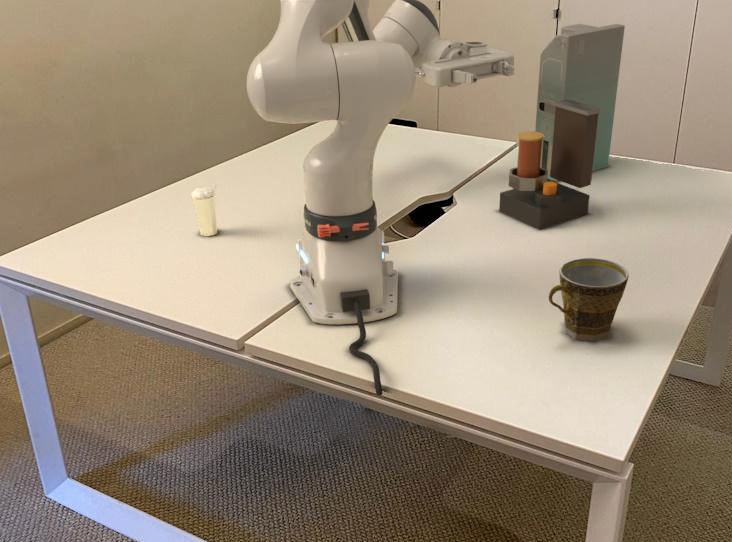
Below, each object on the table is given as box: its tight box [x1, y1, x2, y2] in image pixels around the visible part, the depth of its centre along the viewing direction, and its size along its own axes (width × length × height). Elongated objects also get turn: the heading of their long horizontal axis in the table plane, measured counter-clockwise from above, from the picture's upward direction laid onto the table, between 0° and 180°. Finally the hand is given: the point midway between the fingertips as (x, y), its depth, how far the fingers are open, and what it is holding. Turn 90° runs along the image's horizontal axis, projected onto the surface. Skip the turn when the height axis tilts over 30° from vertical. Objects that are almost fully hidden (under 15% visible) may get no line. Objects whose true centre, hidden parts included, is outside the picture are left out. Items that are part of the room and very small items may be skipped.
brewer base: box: [498, 178, 590, 230], centre depth 168 cm, size 13×13×6 cm
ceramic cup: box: [548, 257, 630, 343], centre depth 126 cm, size 13×10×10 cm
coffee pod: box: [516, 131, 544, 178], centre depth 164 cm, size 5×5×10 cm
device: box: [534, 23, 626, 183], centre depth 183 cm, size 16×8×30 cm, turn 124°
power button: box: [543, 181, 558, 195], centre depth 163 cm, size 3×3×2 cm
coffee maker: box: [508, 99, 600, 191], centre depth 163 cm, size 12×13×15 cm
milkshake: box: [190, 184, 218, 237], centre depth 164 cm, size 4×5×10 cm
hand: (493, 75), depth 165 cm, fingers open, 8 cm apart
